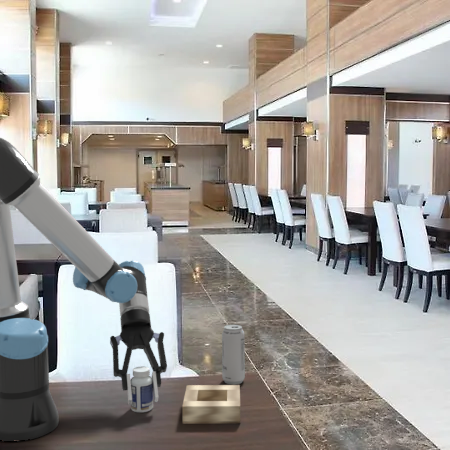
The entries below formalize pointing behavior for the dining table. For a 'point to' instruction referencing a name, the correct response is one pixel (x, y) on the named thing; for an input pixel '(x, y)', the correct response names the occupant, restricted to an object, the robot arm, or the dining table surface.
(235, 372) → the energy drink can
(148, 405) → the pill bottle
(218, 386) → the socket block
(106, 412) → the dining table surface
